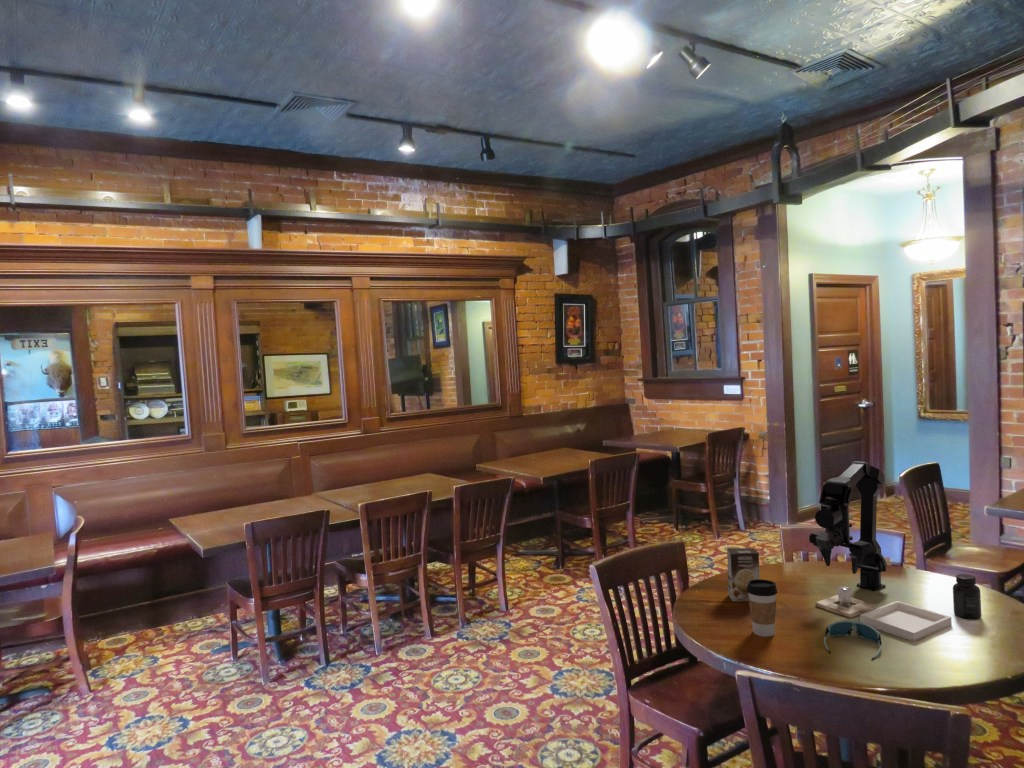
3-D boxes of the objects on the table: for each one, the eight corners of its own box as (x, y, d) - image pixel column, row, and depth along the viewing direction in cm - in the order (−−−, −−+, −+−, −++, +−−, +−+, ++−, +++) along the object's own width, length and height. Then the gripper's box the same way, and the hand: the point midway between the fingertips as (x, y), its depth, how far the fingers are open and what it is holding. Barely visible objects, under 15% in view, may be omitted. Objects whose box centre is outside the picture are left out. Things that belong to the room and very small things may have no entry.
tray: (897, 608, 210) (897, 600, 210) (951, 625, 196) (951, 617, 196) (860, 623, 202) (860, 614, 202) (914, 641, 188) (913, 632, 188)
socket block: (840, 597, 222) (840, 593, 222) (875, 608, 212) (874, 604, 211) (815, 606, 216) (815, 602, 216) (850, 617, 206) (850, 614, 206)
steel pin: (843, 604, 216) (842, 585, 216) (853, 607, 213) (853, 588, 213) (836, 606, 215) (835, 588, 214) (846, 610, 212) (845, 591, 211)
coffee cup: (764, 641, 194) (762, 589, 193) (742, 631, 201) (740, 581, 201) (785, 633, 198) (783, 583, 197) (762, 624, 205) (760, 575, 204)
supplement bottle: (983, 615, 202) (982, 575, 202) (979, 622, 197) (978, 581, 197) (956, 610, 207) (954, 571, 206) (951, 617, 202) (950, 577, 201)
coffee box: (732, 602, 224) (730, 553, 223) (728, 595, 230) (725, 548, 229) (761, 601, 223) (759, 553, 222) (756, 594, 229) (754, 547, 228)
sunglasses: (883, 640, 191) (882, 623, 190) (881, 670, 178) (880, 652, 177) (827, 631, 198) (826, 616, 197) (822, 660, 185) (821, 643, 184)
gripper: (796, 519, 217) (798, 567, 218) (848, 532, 201) (851, 583, 202) (819, 513, 222) (821, 560, 223) (873, 524, 206) (875, 575, 207)
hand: (841, 569), depth 214 cm, fingers open, 9 cm apart
